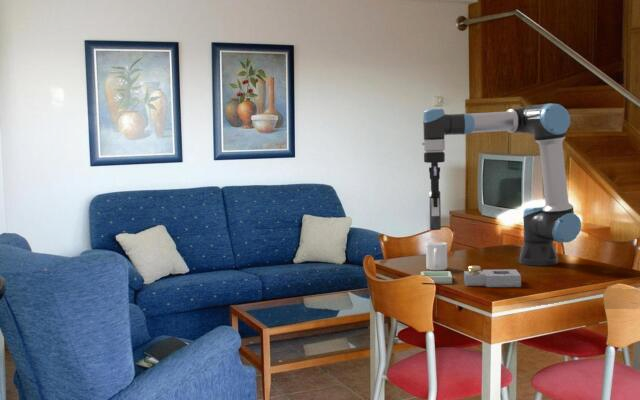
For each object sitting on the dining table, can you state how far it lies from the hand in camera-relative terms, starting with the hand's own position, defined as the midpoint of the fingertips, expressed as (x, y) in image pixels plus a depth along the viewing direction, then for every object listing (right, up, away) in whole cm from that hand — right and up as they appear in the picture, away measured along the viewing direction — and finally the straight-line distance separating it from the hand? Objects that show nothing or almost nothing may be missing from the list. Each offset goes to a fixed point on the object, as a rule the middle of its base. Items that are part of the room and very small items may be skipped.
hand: (435, 215), depth 281 cm
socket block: (+19, -25, -6) cm, 32 cm away
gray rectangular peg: (0, -5, 0) cm, 5 cm away
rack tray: (+1, -24, +2) cm, 25 cm away
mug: (+4, -23, +25) cm, 34 cm away
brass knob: (+13, -24, -5) cm, 28 cm away
